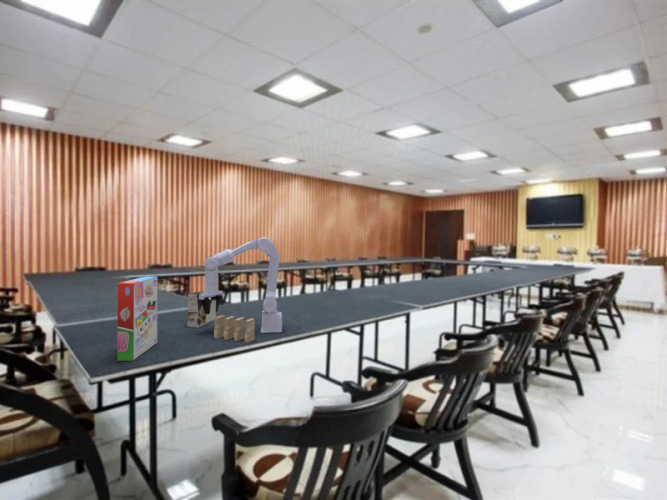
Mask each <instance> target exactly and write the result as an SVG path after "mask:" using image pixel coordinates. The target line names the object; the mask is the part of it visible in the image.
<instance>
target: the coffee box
mask: <svg viewBox="0 0 667 500" xmlns="http://www.w3.org/2000/svg"><path fill="white" fill-rule="evenodd" d="M203 292H204V291H194V292H191V293H188V294H187V324H186V325H187V327H189V328H190V327H191V328H197V329H198V328H200V327H201V328H202V327H204V326H206V325H209V324H210V323H209V322H207V321H206V314H205V312H204V308H203V306H202V303H201V302H200V299H199V295H201V294H203Z"/></svg>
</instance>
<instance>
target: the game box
mask: <svg viewBox="0 0 667 500" xmlns="http://www.w3.org/2000/svg"><path fill="white" fill-rule="evenodd" d="M116 324H117V325H116V326H117V332H116V333H117V336H116V338H117V339H116V340H117V341H116V342H117V343H116V344H117V348H116V349H117V353H116V357H117V358H116V360H117V362H119V361H120V362H121V361H123V362H125V361H126V362H130V361H131V362H133V361H134V360H136V359H137V358H139V356H141V355H143V354H144V353H145V352H147V351H148V350H150V349H151V348H152V347H154V346H155V345H157V344H158V276H149V275H148V276H145V275H144V276H141V277H137V278H134V279H129V280H124V281H121V282H118V283H117V323H116Z"/></svg>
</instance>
